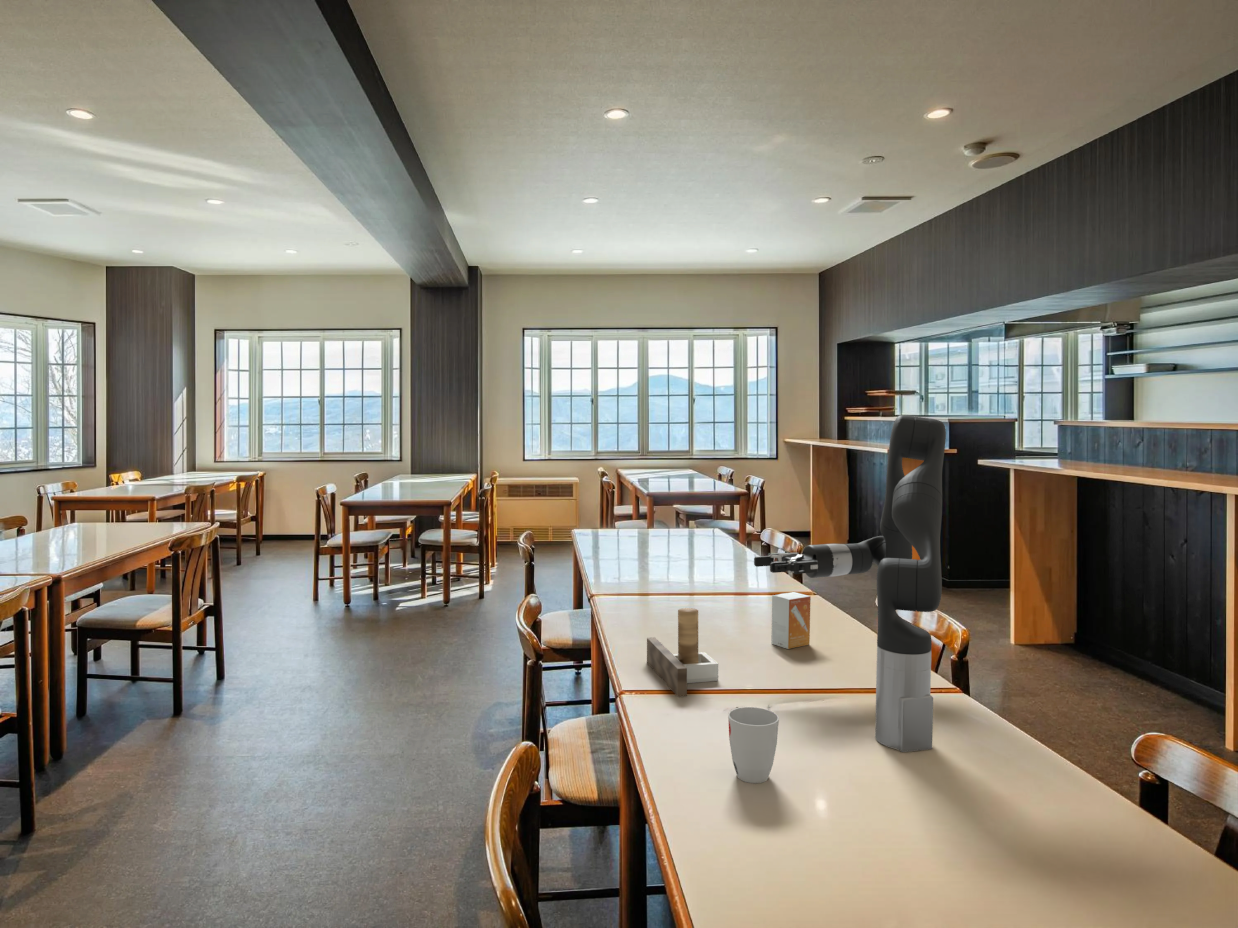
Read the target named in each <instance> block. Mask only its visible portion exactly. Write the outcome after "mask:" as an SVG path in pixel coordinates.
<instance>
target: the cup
mask: <svg viewBox="0 0 1238 928" xmlns="http://www.w3.org/2000/svg"><path fill="white" fill-rule="evenodd" d="M727 716H728V717H727V718H728V740H729V744H730V745H729V746H730V753H731V759H732V764H733V767H734V770H735V773H736V777H737V778H738V779H739V780H740V781H742V782H745V783H748V784H761V783H764V782H766V781H768V780H769V777H770V774H771V771H772V768H773V765H774V760H775V756H776V755H775V754H776V750H777V745H778V732H779V722H780V717H779V715H778V714H777V713H775V712H774V711H773V710H769V709H767V708H763V707H756V706H755V707H754V706H744V707H743V706H741V707H736V708H733V709H731V710H729V712H728V714H727Z"/></svg>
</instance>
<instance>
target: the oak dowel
mask: <svg viewBox="0 0 1238 928" xmlns="http://www.w3.org/2000/svg"><path fill="white" fill-rule="evenodd" d="M677 650H678V651H677V654H678V660H679V661H680V662H681V663H682V664H695V663H698V652H699V610H698V609H696V608H691V607H685V608H684V607H683V608H679V609H677Z"/></svg>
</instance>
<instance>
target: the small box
mask: <svg viewBox="0 0 1238 928" xmlns="http://www.w3.org/2000/svg"><path fill="white" fill-rule="evenodd" d="M810 630H811V595H807V594H803V593H800V592H795V591H793V592H792V591H791V592H785V593H784V592H783V593H779V594H775V595H774V594H772V596H771V645H775V646H777V647H780V648H783V649H787V650H790V649H794V648H795V649H796V648H799V647H804V646H809V645H810V639H811V638H810V637H811V634H810V633H811V631H810Z"/></svg>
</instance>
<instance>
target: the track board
mask: <svg viewBox="0 0 1238 928" xmlns="http://www.w3.org/2000/svg"><path fill="white" fill-rule="evenodd" d="M673 654H674V653H672V652H671V651H670V650H669V649H668V648H667V647H666V646H665V645H664V644H663V643H662V642H660V640H659V639H658V638H657V637H655V636H654V637H647V638H646V663H647V664H648V665H649V666H650V668H651V669H652V670H653V671H654V672H655V673H656V674H657V676H659V678H660V679H661V680H662V682H664V684H665V685H666V686H667V687H668V688H669V689H670V690H671V691H672V692H673V693H674V694H675V696H676V697H679V698H680V697H688V691H687V690H688V686H687V685H688V683H687V668H686V667H685V666H684V665H683V664H682V663H681V662H680V661H679V660H678V659H677V658H676V657H675V656H674V655H673Z"/></svg>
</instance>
